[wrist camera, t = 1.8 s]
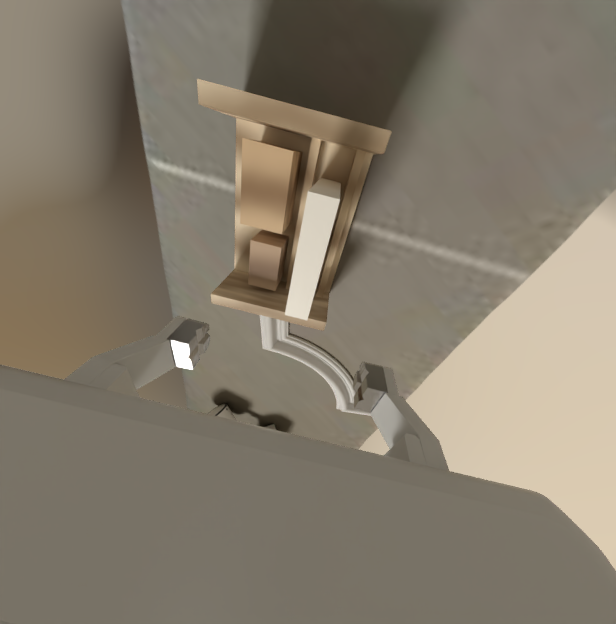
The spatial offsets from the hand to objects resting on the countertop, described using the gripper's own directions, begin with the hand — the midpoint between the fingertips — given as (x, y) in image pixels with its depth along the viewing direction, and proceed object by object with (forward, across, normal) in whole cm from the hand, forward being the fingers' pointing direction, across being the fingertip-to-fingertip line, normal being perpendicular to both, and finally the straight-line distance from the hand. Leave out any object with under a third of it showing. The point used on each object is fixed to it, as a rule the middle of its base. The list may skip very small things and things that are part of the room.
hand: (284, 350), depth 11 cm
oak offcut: (+24, +7, -4) cm, 25 cm away
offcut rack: (+25, +4, 0) cm, 25 cm away
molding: (+26, -9, +28) cm, 40 cm away
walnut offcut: (+24, +6, +5) cm, 25 cm away
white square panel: (+24, 0, 0) cm, 24 cm away
